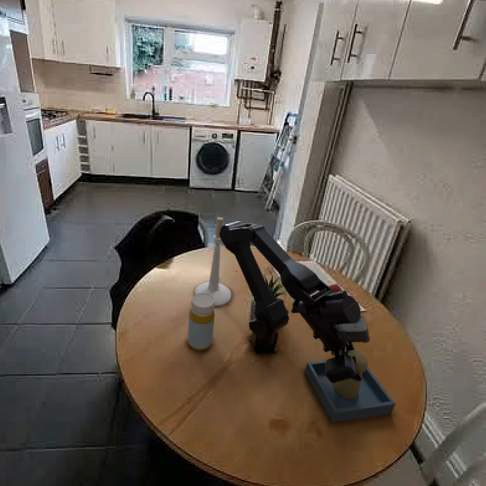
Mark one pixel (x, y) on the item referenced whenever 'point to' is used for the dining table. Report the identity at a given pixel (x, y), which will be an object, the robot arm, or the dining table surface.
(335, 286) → the onion
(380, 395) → the tray
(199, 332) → the bottle
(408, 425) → the dining table surface
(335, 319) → the robot arm
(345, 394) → the wooden peg doll
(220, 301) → the candlestick
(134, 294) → the dining table surface
